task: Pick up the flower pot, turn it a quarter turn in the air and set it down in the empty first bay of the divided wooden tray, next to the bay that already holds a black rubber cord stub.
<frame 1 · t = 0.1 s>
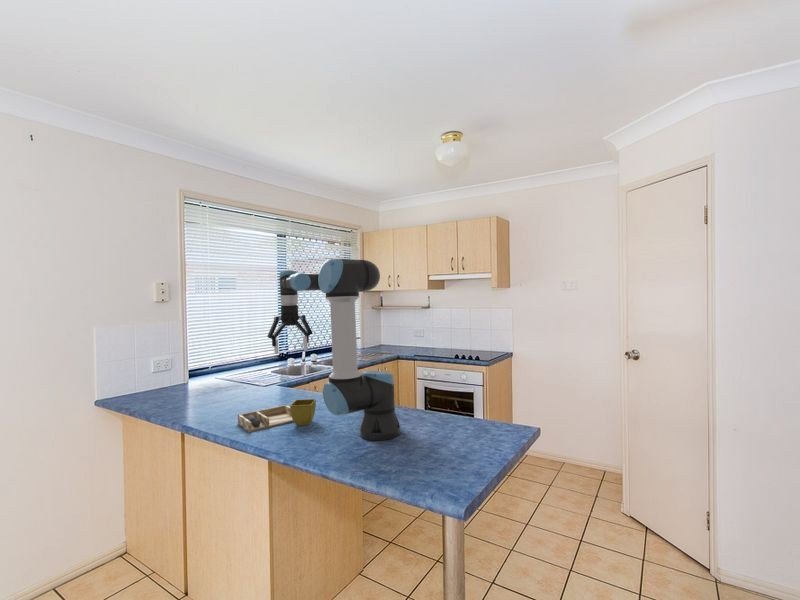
hand: (291, 352, 179), 28 cm above the countertop, fingers open, 13 cm apart
cord stub: (253, 423, 163), point 1 cm above the countertop, touching divided wooden tray
flower pot: (304, 424, 164), on the countertop
divided wooden tray: (269, 422, 168), on the countertop
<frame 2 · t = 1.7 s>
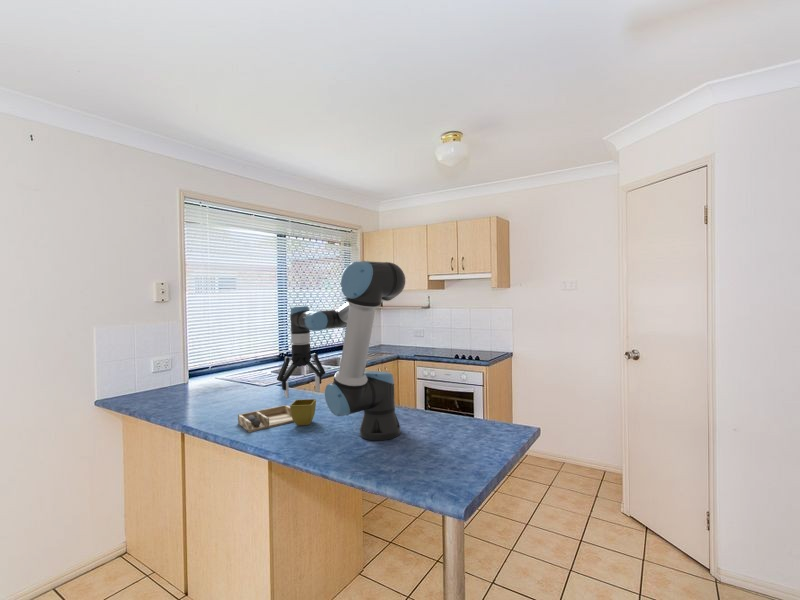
hand: (302, 394, 164), 12 cm above the countertop, fingers open, 13 cm apart
nothing on the countertop moved.
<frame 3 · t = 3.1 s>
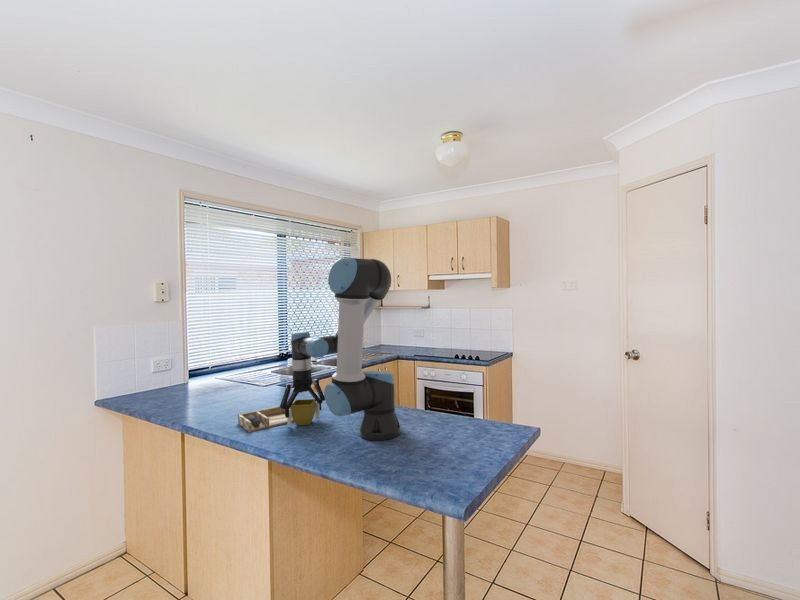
hand: (304, 421, 164), 1 cm above the countertop, fingers closed on flower pot, 12 cm apart
flower pot: (304, 424, 164), on the countertop, touching gripper
everything else where it was.
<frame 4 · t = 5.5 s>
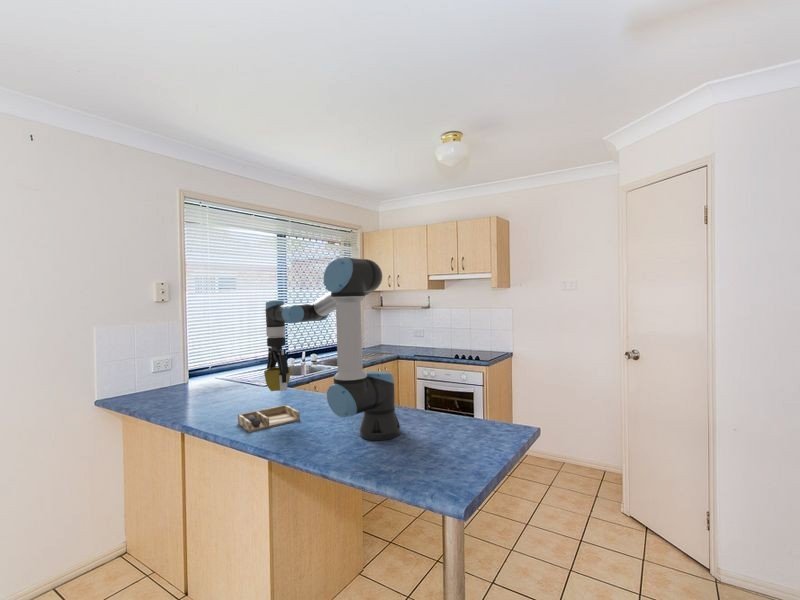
hand: (278, 388, 168), 14 cm above the countertop, fingers closed on flower pot, 11 cm apart
flower pot: (278, 390, 168), point 13 cm above the countertop, touching gripper
everything else where it was.
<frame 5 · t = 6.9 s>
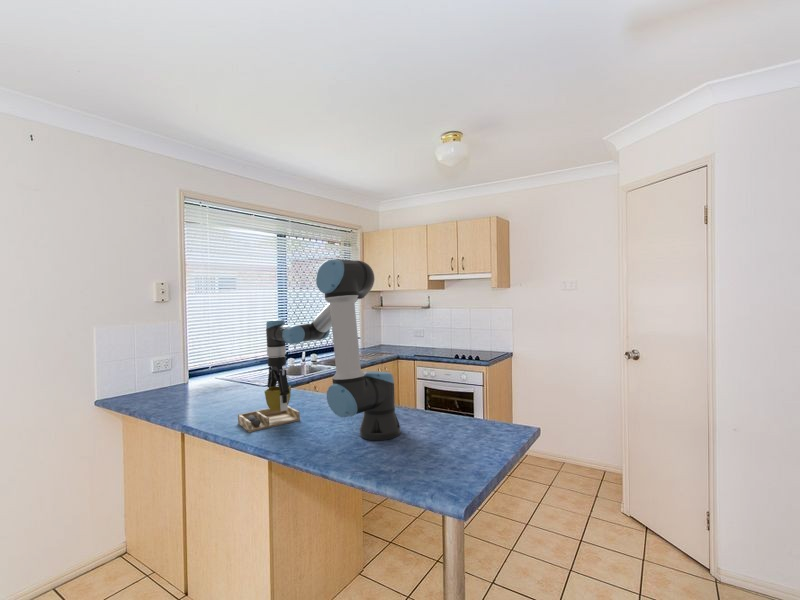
hand: (278, 407, 168), 6 cm above the countertop, fingers closed on flower pot, 11 cm apart
flower pot: (278, 409, 168), point 5 cm above the countertop, touching gripper
everything else where it was.
when the fingers open (3 cm above the countertop, at t = 8.1 s): flower pot drops 1 cm, resting on divided wooden tray.
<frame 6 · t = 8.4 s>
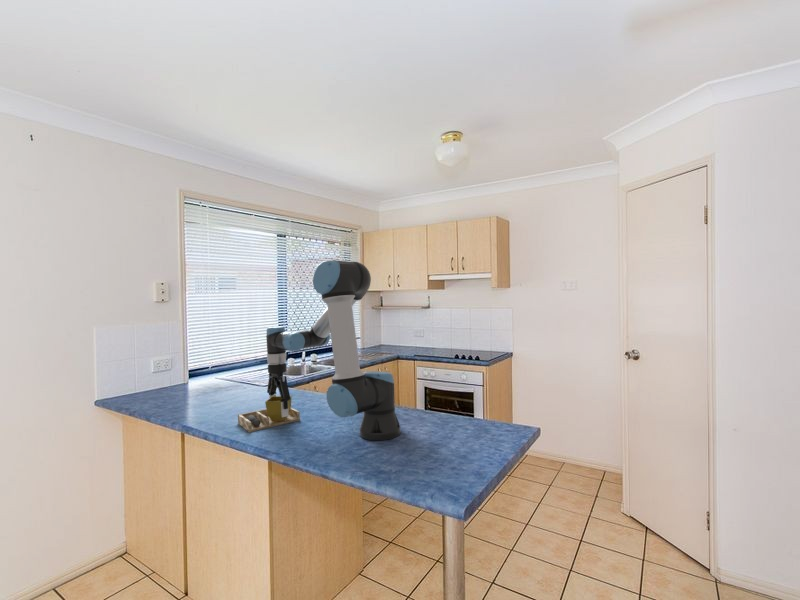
hand: (279, 413, 168), 3 cm above the countertop, fingers open, 13 cm apart
flower pot: (279, 420, 168), point 1 cm above the countertop, touching divided wooden tray
everything else where it was.
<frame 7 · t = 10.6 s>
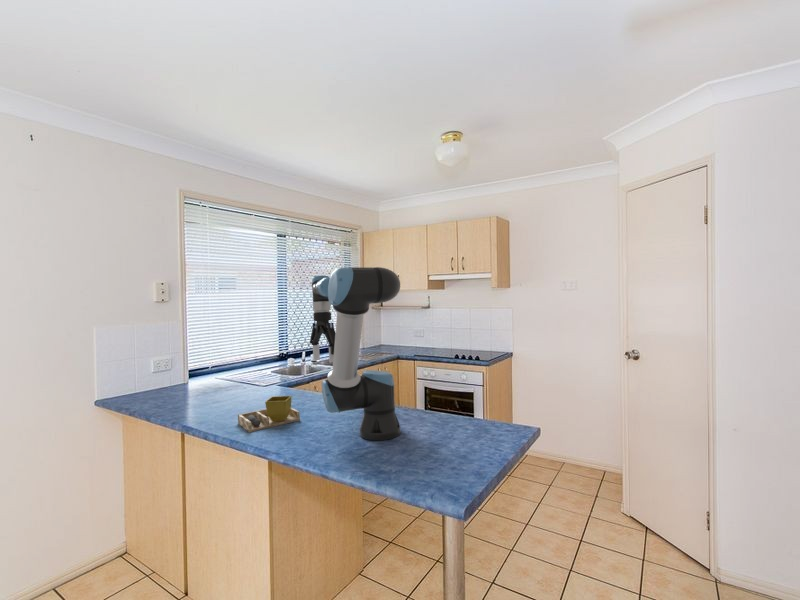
hand: (324, 361, 170), 24 cm above the countertop, fingers open, 13 cm apart
nothing on the countertop moved.
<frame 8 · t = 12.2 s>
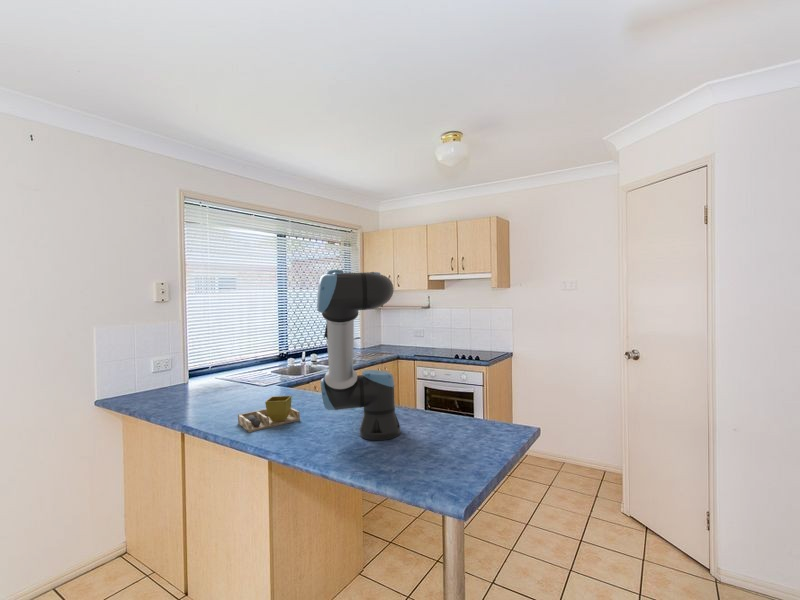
hand: (338, 354, 172), 27 cm above the countertop, fingers open, 13 cm apart
nothing on the countertop moved.
at the end: flower pot inside the target area on the divided wooden tray (2.1 cm from its centre), point 0.6 cm above the divided wooden tray's base; flower pot tilted 0°; the gripper is holding nothing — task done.
